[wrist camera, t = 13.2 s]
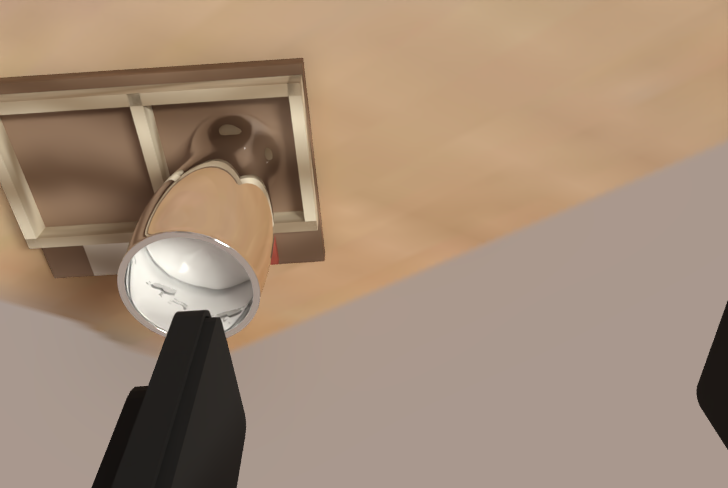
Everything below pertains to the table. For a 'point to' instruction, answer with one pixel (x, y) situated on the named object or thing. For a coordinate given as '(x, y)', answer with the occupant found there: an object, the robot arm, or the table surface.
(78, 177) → the divided sorting tray
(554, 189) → the table surface
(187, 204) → the silver piece
